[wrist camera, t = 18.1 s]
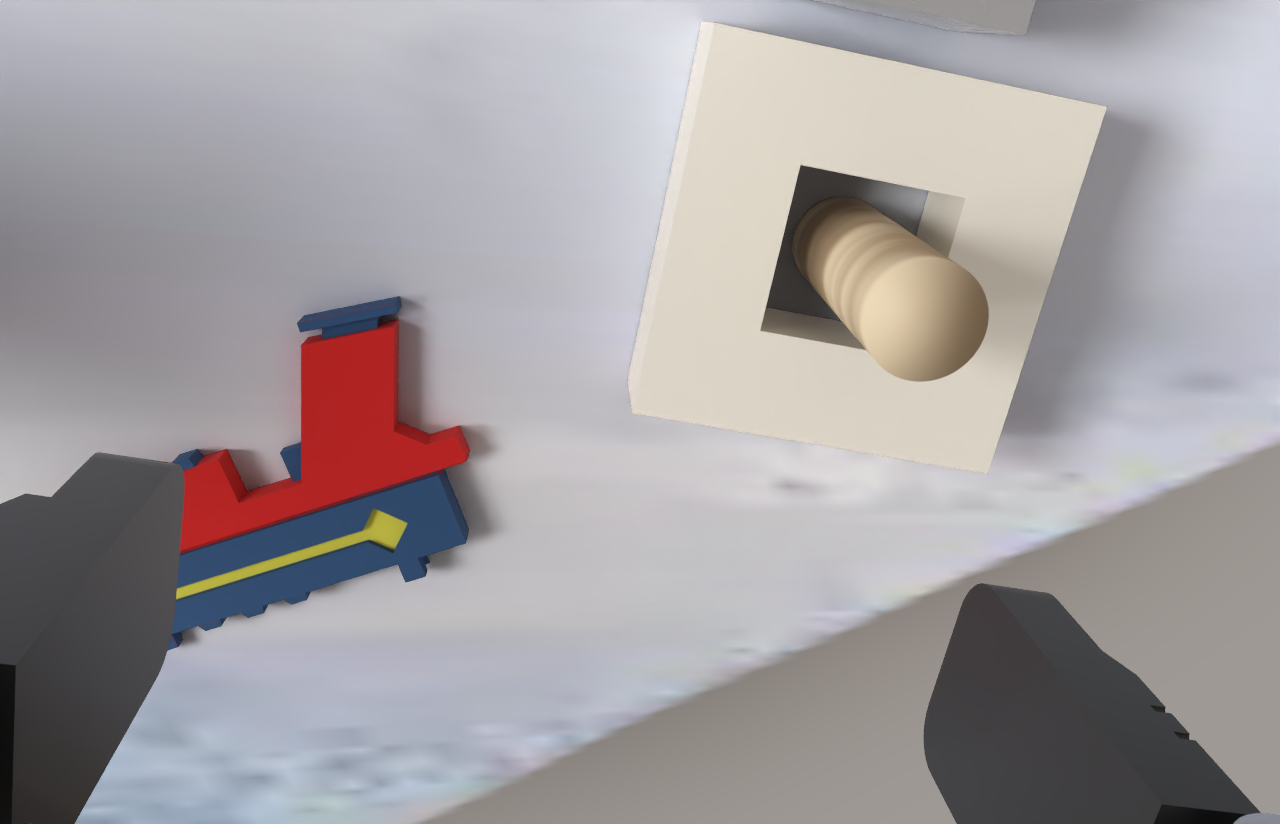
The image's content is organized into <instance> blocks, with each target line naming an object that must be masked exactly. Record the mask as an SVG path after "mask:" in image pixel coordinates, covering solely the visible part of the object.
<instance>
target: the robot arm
mask: <svg viewBox="0 0 1280 824" xmlns="http://www.w3.org/2000/svg"><path fill="white" fill-rule="evenodd" d="M184 489H185V481H184V473H183V469H182V467H181V465H180V464H174V463H167V462H161V461H154V460H147V459H140V458H133V457H127V456H120V455H113V454H106V453H99V452H98V453H95V454H94V455H93V456H92V457H91V458H90V459H89V460H88V461H87V462H86V463H85V464H84V465H83V466H82V467H81V468H80V469H79V470H78V471H77V472H76V473H75V474H74V475H73V476H72V477H71V478H70V479H69V480H68V481H67V482H66V483H65V484H64V485H63V486H62V487H61V488H60V489H59V490H58V491H57V492H56V493H55V494H54V495H53V496H52V497H45V496H38V495H31V494H24V495H21V496H19V497H16V498H14V499H11V500H9V501H7V502H4V503H2V504H0V824H74V823H75V822H76V820H77V818H78V816H79V815H80V813H81V811H82V809H83V807H84V806H85V804H86V802H87V800H88V799H89V797H90V795H91V793H92V792H93V790H94V788H95V786H96V784H97V783H98V781H99V779H100V777H101V776H102V774H103V772H104V770H105V769H106V767H107V765H108V763H109V761H110V760H111V758H112V756H113V754H114V753H115V751H116V749H117V747H118V746H119V744H120V742H121V740H122V738H123V737H124V735H125V733H126V731H127V730H128V728H129V726H130V724H131V723H132V721H133V719H134V717H135V715H136V714H137V712H138V710H139V708H140V707H141V705H142V703H143V701H144V700H145V698H146V696H147V694H148V692H149V691H150V689H151V687H152V685H153V684H154V682H155V680H156V678H157V676H158V674H159V672H160V670H161V667H162V665H163V662H164V659H165V656H166V653H167V650H168V646H169V642H170V638H171V633H172V628H173V623H174V616H175V607H176V594H177V581H178V568H179V555H180V543H181V530H182V517H183V504H184ZM924 750H925V756H926V761H927V764H928V768H929V770H930V772H931V774H932V776H933V778H934V780H935V782H936V784H937V786H938V788H939V790H940V792H941V794H942V796H943V798H944V800H945V802H946V804H947V806H948V808H949V809H950V811H951V813H952V815H953V817H954V819H955V821H956V823H957V824H1280V815H1276V814H1269V813H1260V812H1259V810H1258V809H1257V808H1256V807H1255V806H1254V805H1253V804H1252V803H1251V802H1250V800H1249V799H1248V798H1247V797H1246V796H1245V795H1244V794H1243V793H1242V792H1241V790H1240V789H1239V788H1238V787H1237V786H1236V785H1235V784H1234V783H1233V782H1232V780H1231V779H1230V778H1229V777H1228V776H1227V775H1226V774H1225V773H1224V772H1223V770H1222V769H1221V768H1220V767H1219V766H1218V765H1217V764H1216V763H1215V762H1214V760H1213V759H1212V758H1211V757H1210V756H1209V755H1208V754H1207V753H1206V752H1205V750H1204V749H1203V748H1202V747H1201V746H1200V745H1199V744H1198V743H1197V742H1196V741H1194V740H1189V733H1188V732H1187V730H1186V729H1185V728H1184V727H1183V726H1182V725H1181V724H1180V723H1179V722H1178V721H1177V719H1176V718H1175V717H1174V716H1173V715H1172V714H1170V713H1165V706H1164V705H1163V704H1162V703H1161V702H1160V701H1159V699H1158V698H1157V697H1156V696H1155V695H1154V694H1153V693H1152V692H1151V691H1150V689H1149V688H1148V687H1147V686H1146V685H1145V684H1144V683H1143V682H1142V681H1141V679H1140V678H1139V677H1138V676H1137V675H1136V674H1134V673H1133V672H1131V671H1130V670H1129V669H1127V668H1126V667H1124V666H1123V665H1121V664H1120V663H1119V662H1117V661H1116V660H1114V659H1113V658H1111V657H1110V656H1109V655H1107V654H1106V653H1104V652H1103V651H1102V650H1101V649H1100V648H1099V647H1098V646H1097V644H1096V643H1095V642H1094V641H1093V640H1092V639H1091V638H1090V636H1089V635H1088V634H1087V633H1086V632H1085V631H1084V630H1083V629H1082V627H1081V626H1080V625H1079V624H1078V623H1077V622H1076V621H1075V619H1074V618H1073V617H1072V616H1071V615H1070V614H1069V613H1068V612H1067V611H1066V609H1065V608H1064V607H1063V606H1062V605H1061V604H1060V602H1059V601H1058V600H1057V599H1056V598H1055V597H1054V596H1053V595H1051V594H1049V593H1044V592H1037V591H1030V590H1023V589H1017V588H1010V587H1003V586H995V585H989V584H982V583H981V584H977V585H976V586H974V587H973V588H972V589H971V590H970V591H969V593H968V594H967V595H966V597H965V599H964V601H963V604H962V606H961V609H960V612H959V615H958V618H957V621H956V624H955V627H954V630H953V633H952V636H951V639H950V642H949V645H948V648H947V651H946V654H945V657H944V660H943V663H942V666H941V669H940V673H939V675H938V678H937V681H936V685H935V687H934V690H933V693H932V696H931V699H930V702H929V706H928V710H927V713H926V718H925V725H924Z"/></svg>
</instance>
